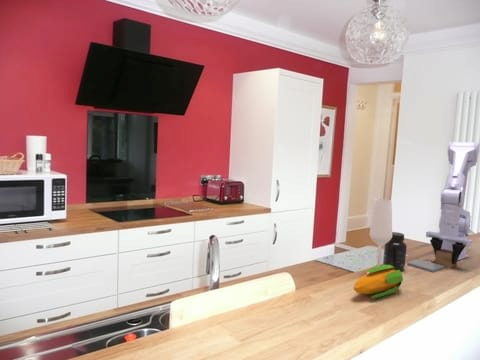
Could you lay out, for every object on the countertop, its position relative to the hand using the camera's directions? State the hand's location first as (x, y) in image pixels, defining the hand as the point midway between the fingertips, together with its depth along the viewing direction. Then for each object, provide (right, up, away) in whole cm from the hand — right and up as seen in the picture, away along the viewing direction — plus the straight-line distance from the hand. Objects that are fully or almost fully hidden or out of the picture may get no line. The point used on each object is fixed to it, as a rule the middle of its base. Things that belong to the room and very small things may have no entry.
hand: (445, 261), depth 134 cm
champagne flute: (-29, -2, -13) cm, 32 cm away
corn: (-34, -3, -29) cm, 45 cm away
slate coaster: (-8, -1, -2) cm, 9 cm away
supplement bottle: (-21, -1, -6) cm, 22 cm away
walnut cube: (0, -1, 0) cm, 1 cm away
